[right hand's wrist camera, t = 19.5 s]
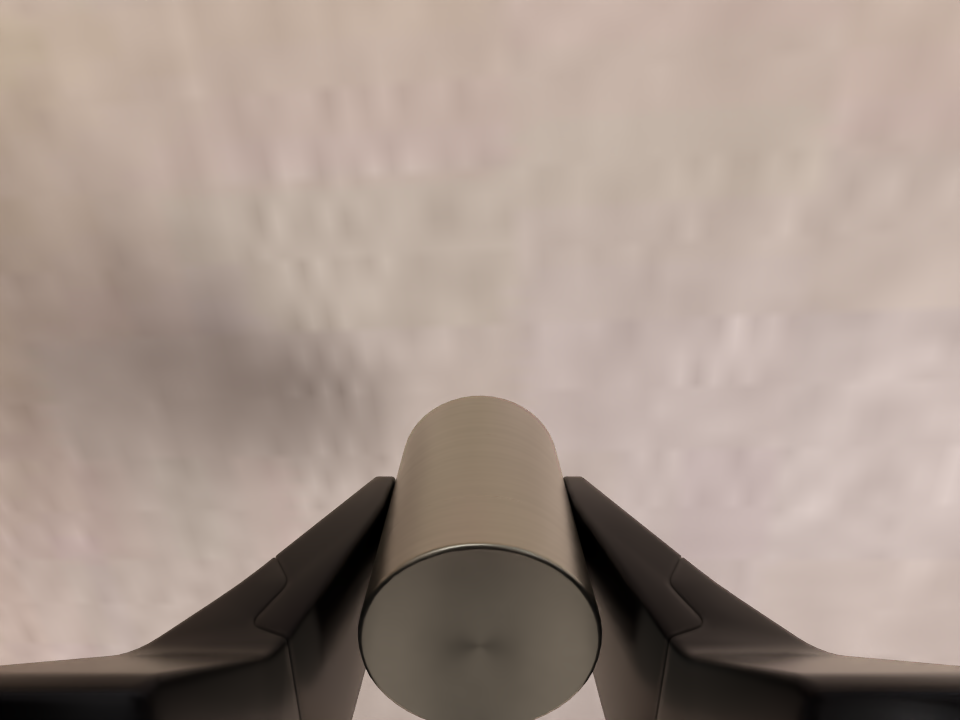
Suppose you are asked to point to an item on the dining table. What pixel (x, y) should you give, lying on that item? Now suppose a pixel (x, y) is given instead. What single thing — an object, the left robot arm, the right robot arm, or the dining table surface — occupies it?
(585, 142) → the dining table surface
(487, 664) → the canister
